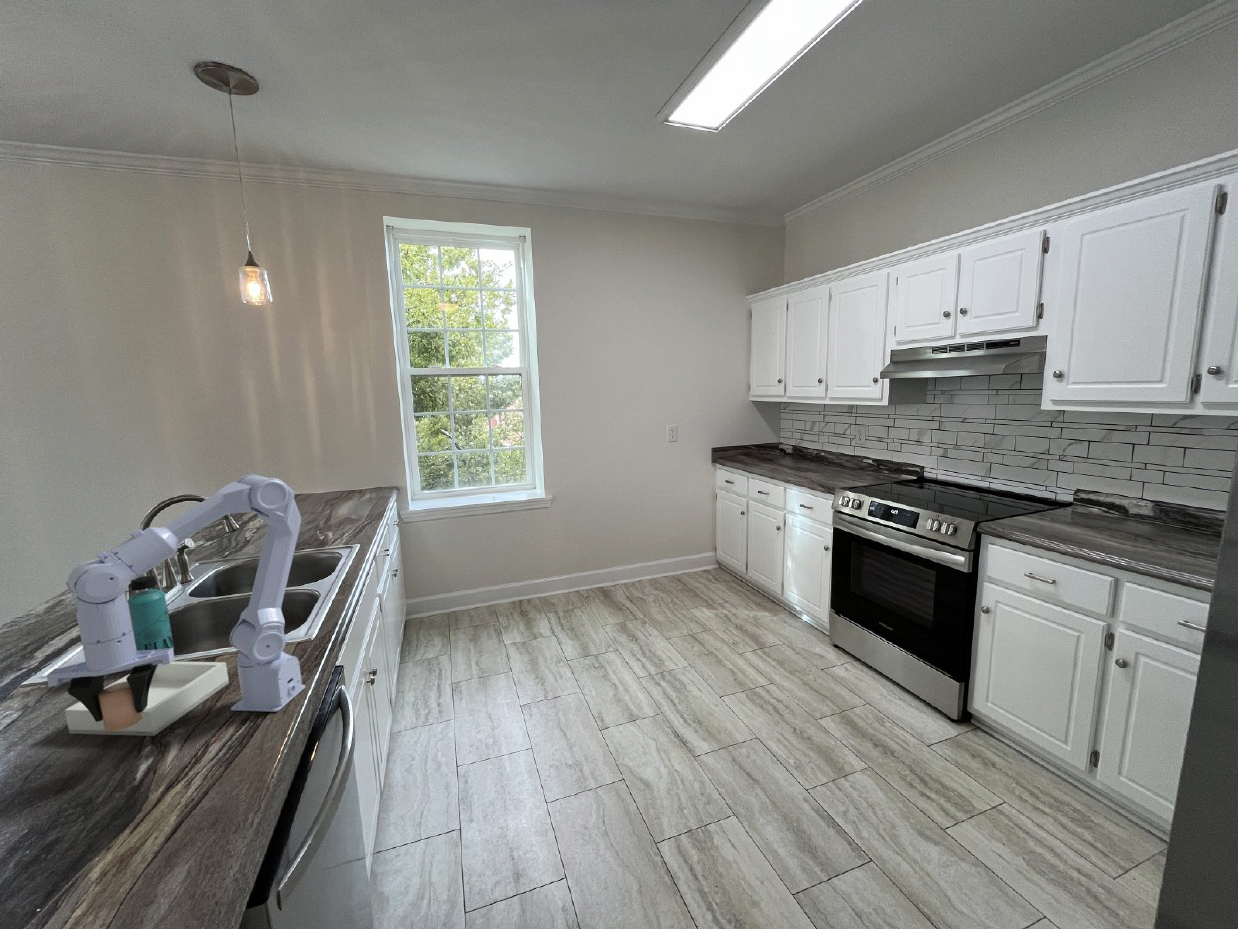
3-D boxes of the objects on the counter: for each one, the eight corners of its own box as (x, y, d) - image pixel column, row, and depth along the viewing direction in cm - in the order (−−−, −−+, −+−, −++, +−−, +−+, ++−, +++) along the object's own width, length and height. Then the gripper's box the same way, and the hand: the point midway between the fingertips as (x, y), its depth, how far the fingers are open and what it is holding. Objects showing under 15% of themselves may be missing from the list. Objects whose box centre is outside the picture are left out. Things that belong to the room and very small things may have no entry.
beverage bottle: (143, 674, 108) (127, 585, 105) (132, 665, 112) (117, 579, 109) (181, 660, 114) (167, 575, 111) (170, 652, 117) (156, 570, 114)
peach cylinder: (149, 714, 84) (144, 681, 83) (122, 732, 79) (115, 697, 79) (125, 713, 84) (119, 680, 83) (96, 731, 80) (89, 696, 79)
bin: (228, 683, 104) (225, 662, 104) (154, 736, 89) (149, 712, 88) (156, 681, 105) (152, 661, 105) (69, 733, 90) (64, 710, 89)
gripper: (175, 615, 86) (187, 688, 88) (59, 634, 80) (75, 712, 82) (159, 633, 80) (172, 711, 82) (32, 655, 74) (49, 738, 76)
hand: (122, 713), depth 82 cm, fingers closed on peach cylinder, 4 cm apart
